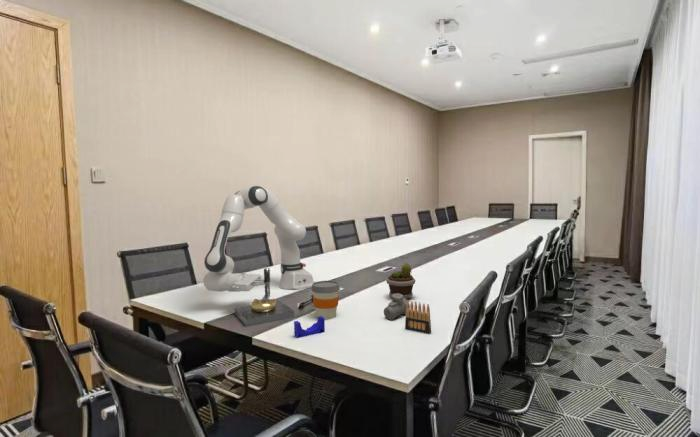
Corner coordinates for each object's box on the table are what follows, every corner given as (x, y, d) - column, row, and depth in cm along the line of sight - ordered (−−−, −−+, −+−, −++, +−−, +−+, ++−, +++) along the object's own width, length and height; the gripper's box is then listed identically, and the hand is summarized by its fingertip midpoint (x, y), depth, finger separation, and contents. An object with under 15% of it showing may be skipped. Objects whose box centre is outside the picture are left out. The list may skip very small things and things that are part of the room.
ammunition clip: (404, 329, 161) (404, 300, 160) (406, 327, 163) (406, 299, 162) (429, 334, 155) (429, 304, 154) (431, 332, 157) (431, 303, 156)
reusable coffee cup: (329, 322, 171) (328, 288, 169) (306, 317, 177) (306, 285, 176) (345, 314, 181) (344, 282, 180) (323, 310, 188) (322, 279, 187)
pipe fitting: (396, 310, 184) (396, 289, 182) (410, 315, 179) (410, 294, 177) (380, 319, 176) (379, 298, 174) (394, 325, 170) (394, 303, 168)
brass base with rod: (273, 311, 176) (272, 275, 174) (248, 312, 176) (247, 275, 174) (279, 300, 193) (278, 267, 191) (257, 301, 192) (255, 268, 191)
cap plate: (279, 306, 196) (278, 299, 195) (294, 317, 178) (294, 310, 178) (234, 313, 184) (234, 307, 184) (246, 326, 167) (245, 319, 167)
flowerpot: (381, 298, 205) (380, 261, 203) (398, 292, 216) (398, 257, 215) (403, 304, 195) (403, 264, 194) (420, 297, 206) (420, 260, 205)
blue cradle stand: (319, 329, 163) (319, 315, 163) (324, 332, 159) (324, 318, 159) (292, 334, 157) (292, 320, 157) (297, 338, 153) (296, 323, 153)
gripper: (228, 281, 181) (257, 281, 180) (244, 271, 202) (270, 271, 200) (229, 294, 182) (258, 294, 181) (244, 283, 202) (270, 283, 201)
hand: (264, 282), depth 191 cm, fingers closed, pressing on brass base with rod
